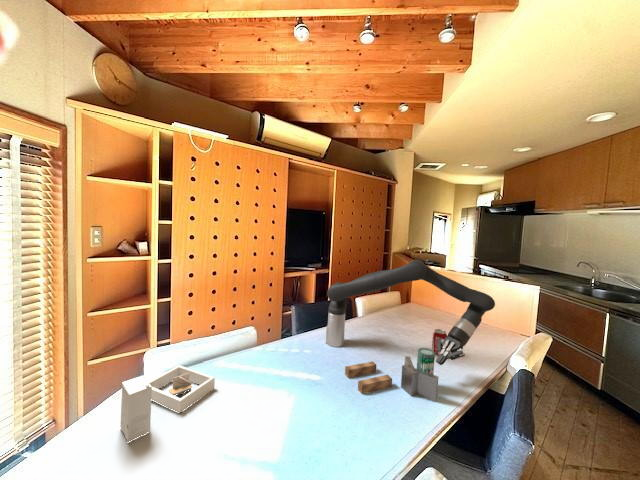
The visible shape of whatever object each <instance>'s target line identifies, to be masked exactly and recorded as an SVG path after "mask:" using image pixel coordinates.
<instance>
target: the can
mask: <svg viewBox="0 0 640 480" xmlns="http://www.w3.org/2000/svg"><path fill="white" fill-rule="evenodd" d="M435 358H436V357H435V352H434V351H432V348H427V347H419V348H418V349H417V359H416V360H417V361H416V369H419V370H421V371H424V372H427V373H430V374H432V375H435V373H434V372H435V371H434V370H435V361H436V360H435Z"/></svg>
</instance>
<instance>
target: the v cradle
mask: <svg viewBox="0 0 640 480" xmlns="http://www.w3.org/2000/svg"><path fill="white" fill-rule="evenodd" d="M400 388H401V389H403V390H404V391H405V392H406V393H407V394H408V395H409V396H410V397H414V396H420V397H422V398H424V399H427V400H429V401H431V402H434V403H436V402H437V400H438V391H439V390H438V388H439V376H437V375H435V374H434V375H432V374H430V373H427V372H424V371H421V370H419V369H417V367H416V368H415V366H414V364H413V362H412V359H411V357H410V356H408V355H407V356H404V364H403V365H402V366H401V379H400Z"/></svg>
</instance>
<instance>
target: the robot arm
mask: <svg viewBox="0 0 640 480" xmlns="http://www.w3.org/2000/svg"><path fill="white" fill-rule="evenodd" d="M420 280H422V281H424V282H427V283H429V284H431V285H433V286H434V287H436V288H437V289H439V290H441V291H442V292H444V293H445V294H447V295H449V296H450V297H452V298H454V299H456V300H458V301H459V302H462V303H469V304H468V306H467V308H466V310H465V312H464V313H463V314H462V315H461V317H460V318H459V319H458V320H457V321H456V322H455V324H454V325H453V326H452V327H451V328H450V331H449V332H448V333H447V337H446V338H444V339H443V340H440V339H438V351H439V352H440V355H439V356H438V355H437V358H436V360H435V362H436V363H437V364H438V365H439V366H442V365H444V364H445V363H446V362H447V360H451V361H453V360H457V359H460V358H463V357H465V355H466V354H465V353H464V351H463V349H464V347H465V346H466V345H467V344H468V342H469V341H470V339H471V338H472V337H473V335H474V334H475V332H476V330H477V329H478V327H479V325H480V324H481V322H482V319H483V316H484V315H485V313H487V312H489V311H491V310H493V309H494V308H495V306H496V302H495V300H494V298H493V297H492V296H491V295H489V294H487V293H485V292H482V291H479V290H477V289H472V288H469V287H468V286H465V285H464V284H462V283H460V282H458V281H456V280H453V279H452V278H450V277H447V276H445V275H443V274H441V273H439V272H437V271H436V270H434V269H432V268H431V267H429V266H427V265H426V264H425V263H424V262H423V261H421V260H419V259H414V260H410V261H409V262H408V263H407V264H404V265H401V266H400V267H396V268H393V269H385V270H378V271H373V272H371V273H368V274H365V275H363V276H360V277H358V278H356V279H353V280H351V281H349V282H344V283H343V282H340V281H339V282H338V281H337V282H335V283H333V284H332V285H329V288H328V289H327V293H326V296H327V298H328V299H329V300H330V303H329V306H328V316H327V317H328V318H327V325H326V330H325V331H326V332H325V333H326V334H325V344H327V345H329V346H330V347H333V348H338V347H340V348H341V347H343V346H344V344H345V327H346V309H347V306H348V305H347V304H348V298H350V297H351V298H352V297H354V296H358V295H359V296H360V295H364V294H365V295H366V294H369V293H373V292H378V291H381V290H384V289H386V288H390V287H393V286H396V285H398V284H403V283H409V282H416V281H420ZM443 345H444V346H443Z"/></svg>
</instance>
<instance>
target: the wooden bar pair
mask: <svg viewBox="0 0 640 480" xmlns="http://www.w3.org/2000/svg"><path fill="white" fill-rule="evenodd" d="M344 367H345V368H344V375H345V376H346V378H347V379H350V378H355V377H361V376H364V375H371V374H375V373H377V364H376V362H374V361H373V360H372V361H367V362H362V363H357V364H352V365H346V366H344ZM388 388H393V378H392V377H391V376H390V375H389V374H384V375H380V376H379V375H378V376H375V377H369V378H365V379H360V380H358V381H357V390H358V392H359V393H360V395H363V394H364V395H365V394H368V393H372V392H377V391H380V390H385V389H388Z"/></svg>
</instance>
